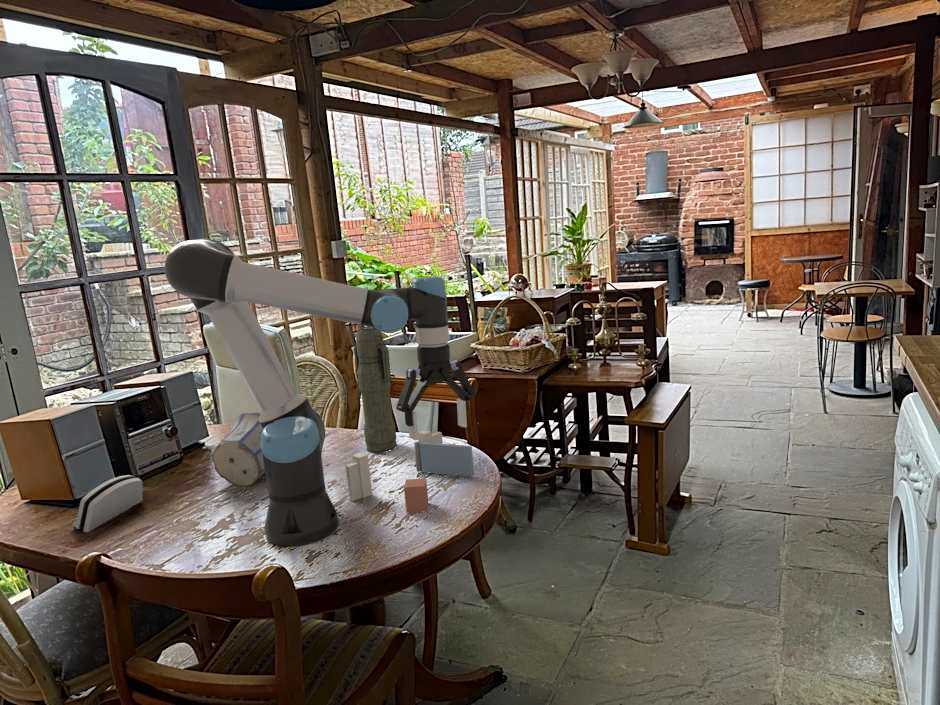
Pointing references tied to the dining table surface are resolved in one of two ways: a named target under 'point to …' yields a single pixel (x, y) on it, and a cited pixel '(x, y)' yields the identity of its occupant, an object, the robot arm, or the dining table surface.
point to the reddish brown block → (416, 495)
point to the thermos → (375, 389)
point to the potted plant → (241, 451)
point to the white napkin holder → (108, 501)
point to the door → (444, 458)
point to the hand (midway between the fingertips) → (438, 432)
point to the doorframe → (361, 475)
